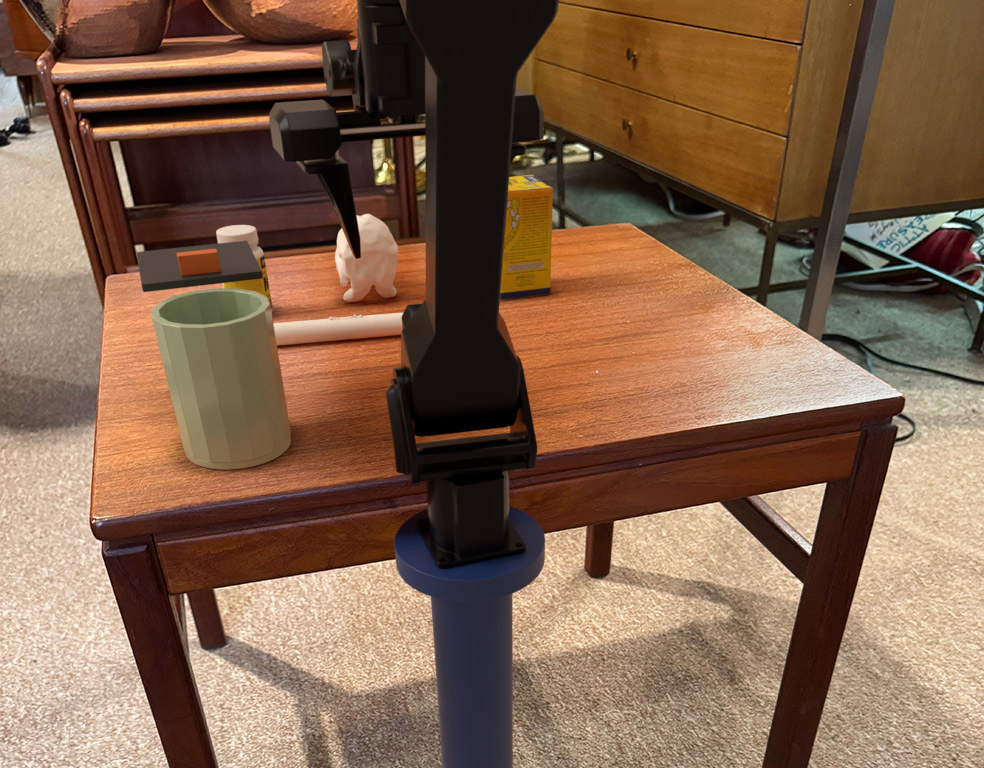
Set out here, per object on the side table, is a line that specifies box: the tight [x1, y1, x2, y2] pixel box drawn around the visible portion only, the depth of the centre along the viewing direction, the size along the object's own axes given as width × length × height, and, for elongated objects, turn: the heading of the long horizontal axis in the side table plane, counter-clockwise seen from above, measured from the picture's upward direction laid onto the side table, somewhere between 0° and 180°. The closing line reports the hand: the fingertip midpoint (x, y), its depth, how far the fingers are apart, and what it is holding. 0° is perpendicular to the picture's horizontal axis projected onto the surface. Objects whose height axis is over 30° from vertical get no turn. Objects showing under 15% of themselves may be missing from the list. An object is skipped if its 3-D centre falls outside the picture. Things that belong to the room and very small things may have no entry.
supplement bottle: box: [215, 224, 274, 313], centre depth 97 cm, size 5×5×8 cm
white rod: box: [273, 311, 404, 347], centre depth 92 cm, size 18×2×2 cm, turn 102°
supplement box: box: [500, 174, 554, 301], centre depth 101 cm, size 6×6×11 cm
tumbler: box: [150, 287, 292, 471], centre depth 72 cm, size 8×8×11 cm
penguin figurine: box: [334, 213, 399, 303], centre depth 102 cm, size 6×8×12 cm
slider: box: [136, 241, 263, 293], centre depth 74 cm, size 9×9×2 cm
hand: (415, 250), depth 71 cm, fingers open, 9 cm apart
